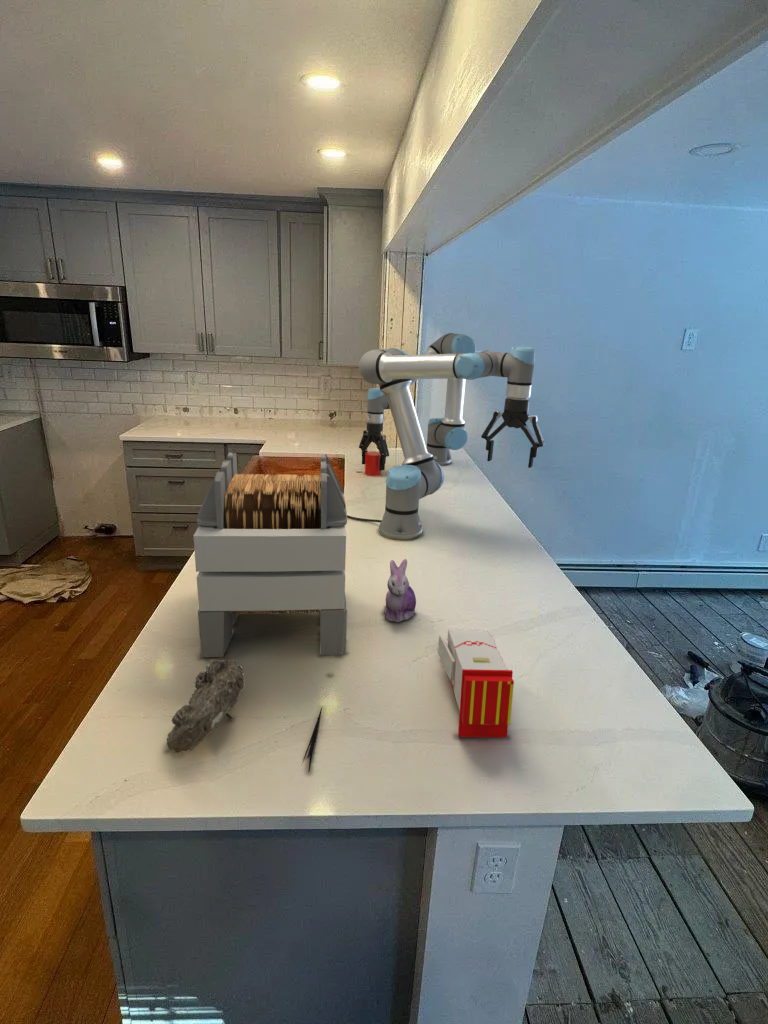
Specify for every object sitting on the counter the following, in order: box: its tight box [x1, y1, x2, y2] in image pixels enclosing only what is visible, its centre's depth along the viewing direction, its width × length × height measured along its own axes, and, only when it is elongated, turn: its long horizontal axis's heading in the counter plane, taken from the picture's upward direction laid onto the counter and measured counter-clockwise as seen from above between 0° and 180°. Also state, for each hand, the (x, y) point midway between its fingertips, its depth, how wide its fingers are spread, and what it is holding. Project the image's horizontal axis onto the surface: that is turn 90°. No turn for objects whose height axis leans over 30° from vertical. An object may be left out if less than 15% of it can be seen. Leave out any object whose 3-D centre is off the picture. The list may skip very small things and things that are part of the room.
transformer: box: [193, 452, 348, 659], centre depth 136 cm, size 34×33×41 cm
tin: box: [364, 450, 382, 477], centre depth 269 cm, size 8×8×10 cm
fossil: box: [166, 658, 245, 754], centre depth 106 cm, size 22×10×15 cm
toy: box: [437, 628, 515, 738], centre depth 117 cm, size 12×13×30 cm
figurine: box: [384, 558, 417, 623], centre depth 145 cm, size 9×10×15 cm
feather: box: [301, 673, 332, 771], centre depth 108 cm, size 2×28×2 cm
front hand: (509, 463), depth 185 cm, fingers open, 13 cm apart
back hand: (373, 467), depth 269 cm, fingers open, 12 cm apart
